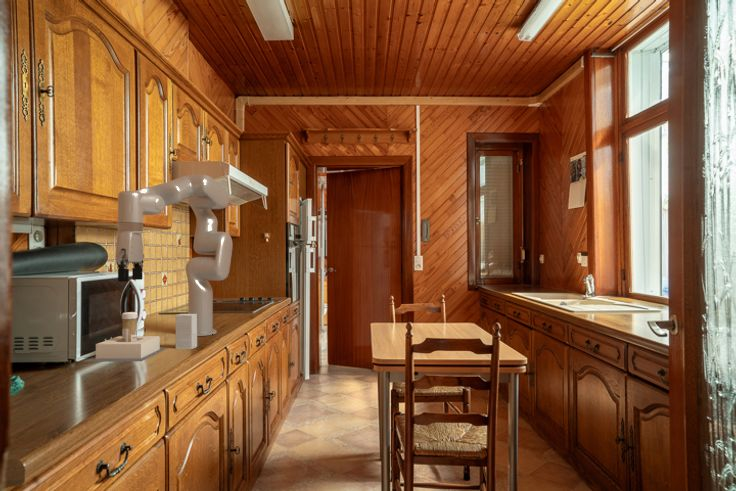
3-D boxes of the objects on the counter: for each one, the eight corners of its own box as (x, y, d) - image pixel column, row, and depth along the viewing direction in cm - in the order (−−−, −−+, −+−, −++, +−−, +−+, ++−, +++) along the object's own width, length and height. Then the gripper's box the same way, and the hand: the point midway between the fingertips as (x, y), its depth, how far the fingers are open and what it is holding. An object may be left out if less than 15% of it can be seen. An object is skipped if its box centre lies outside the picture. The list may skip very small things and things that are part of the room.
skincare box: (197, 347, 169) (197, 313, 169) (191, 350, 164) (191, 315, 164) (180, 347, 169) (181, 313, 169) (174, 349, 165) (175, 315, 165)
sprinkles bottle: (138, 354, 156) (138, 312, 156) (122, 355, 154) (123, 313, 154) (136, 351, 160) (136, 311, 160) (120, 353, 157) (121, 312, 158)
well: (118, 349, 163) (118, 336, 163) (159, 349, 164) (159, 336, 164) (95, 358, 149) (95, 344, 149) (140, 358, 150) (141, 344, 150)
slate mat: (115, 349, 165) (115, 348, 165) (167, 349, 166) (167, 348, 166) (81, 362, 145) (81, 361, 145) (141, 362, 146) (141, 361, 146)
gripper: (131, 229, 166) (131, 278, 166) (105, 227, 149) (105, 282, 149) (153, 229, 167) (153, 278, 167) (129, 227, 149) (129, 282, 149)
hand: (130, 280), depth 158 cm, fingers open, 9 cm apart
